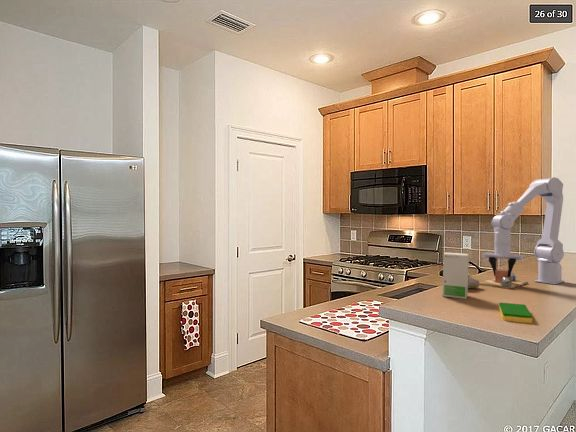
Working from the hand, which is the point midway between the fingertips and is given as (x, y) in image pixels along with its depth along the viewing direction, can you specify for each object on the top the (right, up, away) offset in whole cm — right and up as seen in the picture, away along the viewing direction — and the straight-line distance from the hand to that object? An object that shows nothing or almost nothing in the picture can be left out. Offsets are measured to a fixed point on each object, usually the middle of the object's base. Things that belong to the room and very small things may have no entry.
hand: (502, 276), depth 158 cm
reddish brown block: (0, -2, 0) cm, 2 cm away
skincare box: (-28, -4, -20) cm, 35 cm away
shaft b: (-2, -4, -6) cm, 7 cm away
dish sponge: (-22, -5, -45) cm, 51 cm away
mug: (-18, -4, -7) cm, 20 cm away
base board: (0, -3, 0) cm, 3 cm away
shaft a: (+5, -3, +4) cm, 7 cm away
